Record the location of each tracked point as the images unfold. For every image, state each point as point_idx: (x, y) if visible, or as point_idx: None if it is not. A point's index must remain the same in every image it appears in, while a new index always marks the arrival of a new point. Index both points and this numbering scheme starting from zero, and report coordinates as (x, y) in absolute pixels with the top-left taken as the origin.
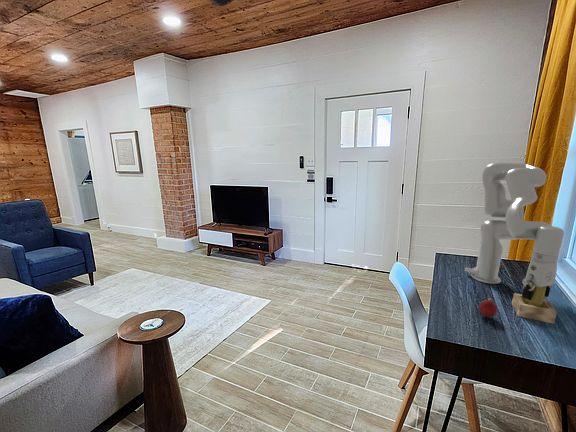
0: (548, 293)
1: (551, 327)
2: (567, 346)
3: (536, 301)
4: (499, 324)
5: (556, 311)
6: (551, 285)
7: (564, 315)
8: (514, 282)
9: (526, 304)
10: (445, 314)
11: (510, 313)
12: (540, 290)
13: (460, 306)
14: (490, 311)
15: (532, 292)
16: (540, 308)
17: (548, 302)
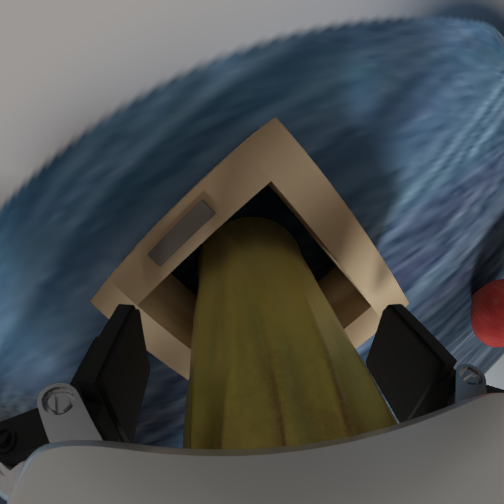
0: (118, 329)
1: (326, 114)
2: (423, 28)
3: (317, 289)
4: (488, 242)
5: (265, 125)
6: (42, 408)
7: (68, 181)
8: None
9: (371, 296)
10: None
11: None
12: (358, 377)
13: (458, 363)
14: None
15: (448, 353)
16: (346, 217)
17: (132, 265)
